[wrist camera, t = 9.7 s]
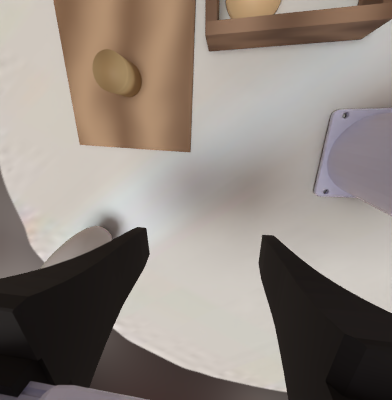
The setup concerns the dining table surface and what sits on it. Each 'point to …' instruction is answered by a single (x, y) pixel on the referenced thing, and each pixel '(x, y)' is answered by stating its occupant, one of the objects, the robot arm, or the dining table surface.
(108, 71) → the lid
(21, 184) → the dining table surface
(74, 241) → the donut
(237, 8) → the biscuit
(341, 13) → the box
